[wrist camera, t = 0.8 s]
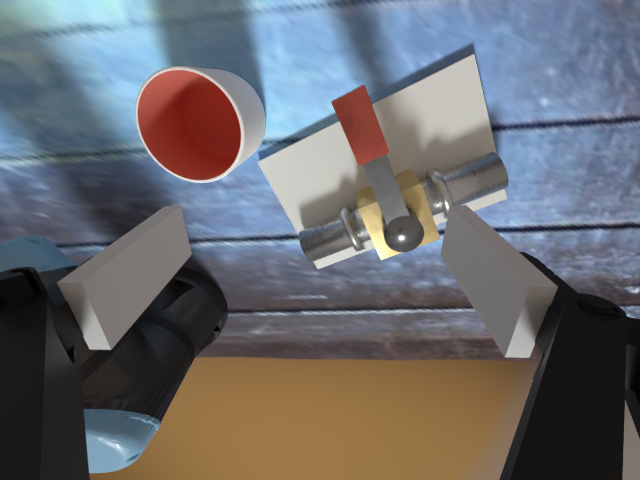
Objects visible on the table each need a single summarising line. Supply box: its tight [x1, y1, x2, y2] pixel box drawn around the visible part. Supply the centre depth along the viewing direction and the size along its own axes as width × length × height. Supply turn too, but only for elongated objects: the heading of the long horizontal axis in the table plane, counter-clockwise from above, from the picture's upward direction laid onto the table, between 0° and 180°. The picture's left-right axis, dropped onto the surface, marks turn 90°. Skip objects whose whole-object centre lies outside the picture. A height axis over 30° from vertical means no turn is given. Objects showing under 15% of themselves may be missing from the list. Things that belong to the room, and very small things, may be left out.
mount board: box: [258, 54, 507, 269], centre depth 38 cm, size 26×17×1 cm, turn 116°
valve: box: [299, 151, 508, 262], centre depth 36 cm, size 24×7×7 cm, turn 116°
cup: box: [135, 66, 266, 183], centre depth 32 cm, size 10×10×10 cm
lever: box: [332, 85, 424, 252], centre depth 30 cm, size 16×4×2 cm, turn 26°
